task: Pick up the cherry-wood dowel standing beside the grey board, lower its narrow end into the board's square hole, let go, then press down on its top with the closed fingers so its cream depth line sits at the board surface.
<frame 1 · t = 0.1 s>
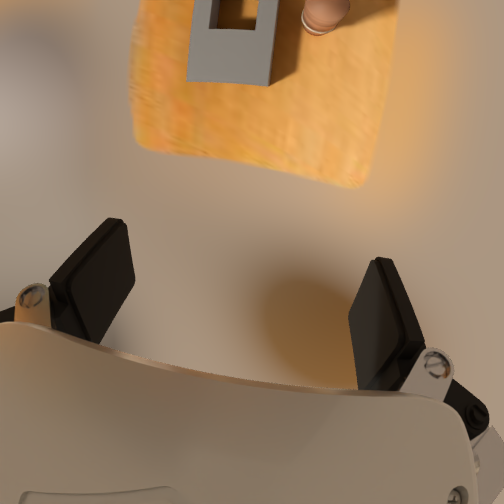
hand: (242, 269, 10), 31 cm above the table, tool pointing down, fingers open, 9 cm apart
dowel: (316, 24, 27), on the table
seat board: (239, 16, 27), on the table
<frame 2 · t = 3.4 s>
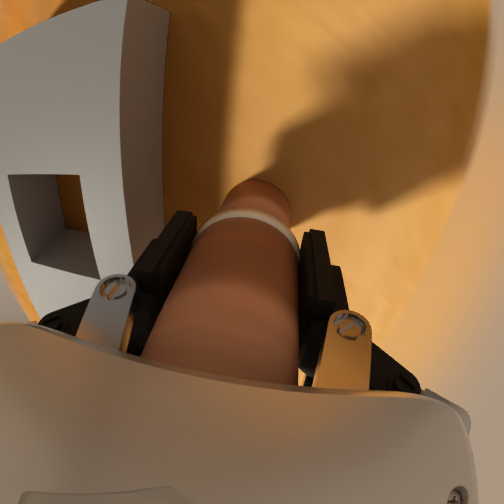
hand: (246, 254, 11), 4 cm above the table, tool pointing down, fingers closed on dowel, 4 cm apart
dowel: (256, 211, 14), on the table, touching gripper
seat board: (89, 193, 15), on the table
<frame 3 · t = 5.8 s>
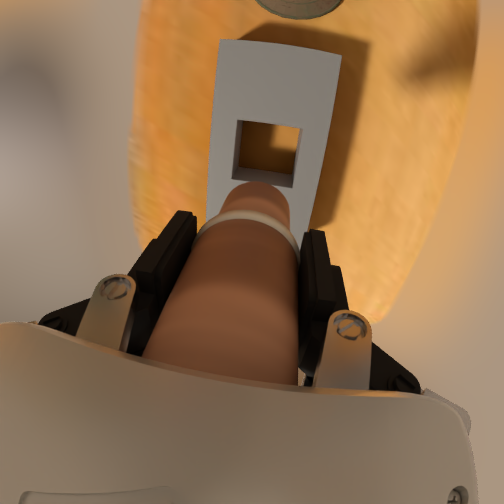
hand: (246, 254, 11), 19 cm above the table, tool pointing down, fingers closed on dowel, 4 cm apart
dowel: (256, 212, 15), point 15 cm above the table, touching gripper
seat board: (268, 144, 27), on the table
when the fingers open (5 cm above the table, at t = 8.2 s): dowel drops 2 cm, resting in seat board.
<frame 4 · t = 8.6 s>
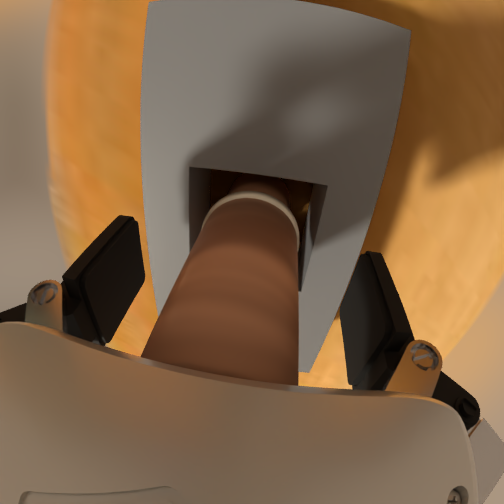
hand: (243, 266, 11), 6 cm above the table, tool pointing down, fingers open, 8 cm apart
dowel: (259, 199, 16), resting in seat board
seat board: (259, 198, 16), on the table
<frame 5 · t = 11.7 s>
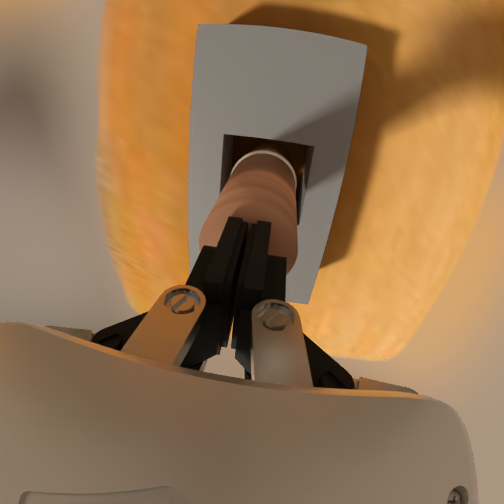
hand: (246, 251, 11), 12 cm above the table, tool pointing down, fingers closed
dowel: (267, 163, 21), resting in seat board, touching gripper
seat board: (267, 163, 21), on the table
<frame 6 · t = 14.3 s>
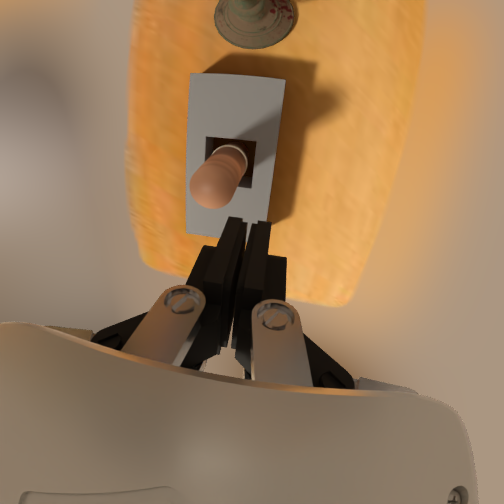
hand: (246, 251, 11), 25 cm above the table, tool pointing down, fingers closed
dowel: (235, 153, 34), resting in seat board
candlestick holder: (254, 16, 24), on the table
seat board: (235, 153, 34), on the table
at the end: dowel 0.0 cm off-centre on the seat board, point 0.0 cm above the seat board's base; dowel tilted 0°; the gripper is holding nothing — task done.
